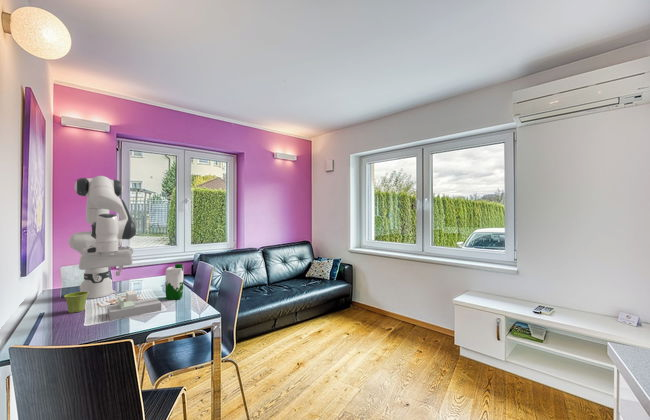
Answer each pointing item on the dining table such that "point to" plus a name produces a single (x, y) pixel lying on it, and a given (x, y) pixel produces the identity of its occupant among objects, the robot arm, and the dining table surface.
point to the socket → (134, 309)
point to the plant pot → (76, 301)
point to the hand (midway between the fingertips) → (106, 276)
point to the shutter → (125, 303)
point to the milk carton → (174, 282)
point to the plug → (131, 296)
